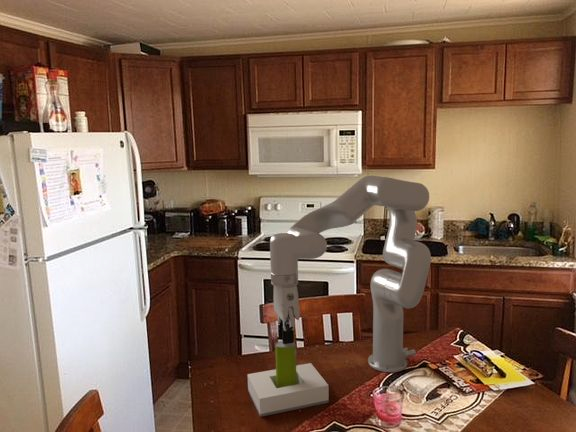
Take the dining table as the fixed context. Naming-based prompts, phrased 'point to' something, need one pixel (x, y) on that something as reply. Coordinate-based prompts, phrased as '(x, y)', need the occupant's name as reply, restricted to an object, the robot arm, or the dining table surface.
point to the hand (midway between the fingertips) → (285, 339)
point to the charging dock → (287, 391)
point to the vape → (285, 364)
